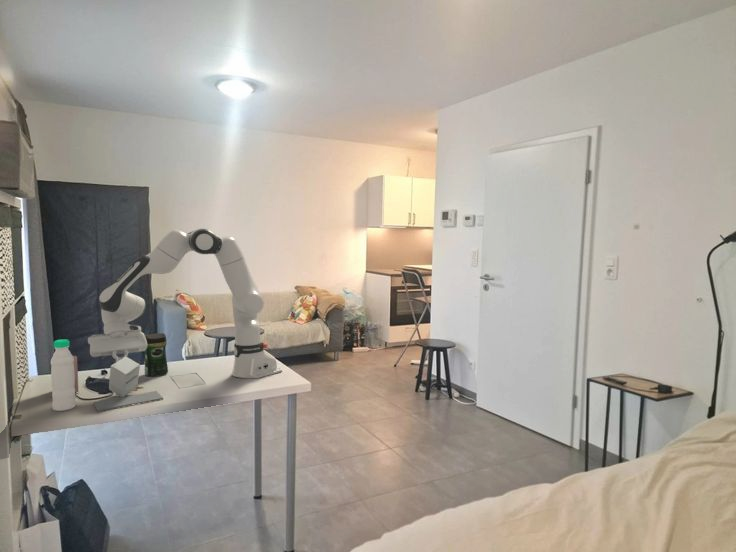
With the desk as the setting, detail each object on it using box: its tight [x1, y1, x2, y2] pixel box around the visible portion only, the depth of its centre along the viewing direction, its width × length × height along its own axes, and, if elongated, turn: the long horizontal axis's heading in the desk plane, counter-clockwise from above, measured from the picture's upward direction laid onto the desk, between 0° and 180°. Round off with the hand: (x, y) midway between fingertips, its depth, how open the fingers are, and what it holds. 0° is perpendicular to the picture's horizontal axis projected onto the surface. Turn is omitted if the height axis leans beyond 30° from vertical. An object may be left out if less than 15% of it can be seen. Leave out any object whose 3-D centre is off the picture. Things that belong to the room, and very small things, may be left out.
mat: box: [92, 390, 164, 413], centre depth 177 cm, size 22×10×1 cm, turn 128°
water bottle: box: [50, 338, 77, 412], centre depth 168 cm, size 7×7×25 cm
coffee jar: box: [144, 332, 169, 377], centre depth 211 cm, size 10×8×19 cm
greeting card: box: [72, 355, 79, 394], centre depth 185 cm, size 11×7×15 cm, turn 42°
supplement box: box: [108, 356, 141, 397], centre depth 181 cm, size 7×7×13 cm
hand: (121, 361), depth 182 cm, fingers closed
